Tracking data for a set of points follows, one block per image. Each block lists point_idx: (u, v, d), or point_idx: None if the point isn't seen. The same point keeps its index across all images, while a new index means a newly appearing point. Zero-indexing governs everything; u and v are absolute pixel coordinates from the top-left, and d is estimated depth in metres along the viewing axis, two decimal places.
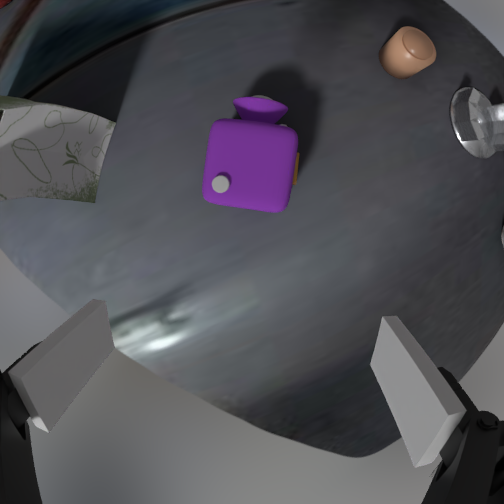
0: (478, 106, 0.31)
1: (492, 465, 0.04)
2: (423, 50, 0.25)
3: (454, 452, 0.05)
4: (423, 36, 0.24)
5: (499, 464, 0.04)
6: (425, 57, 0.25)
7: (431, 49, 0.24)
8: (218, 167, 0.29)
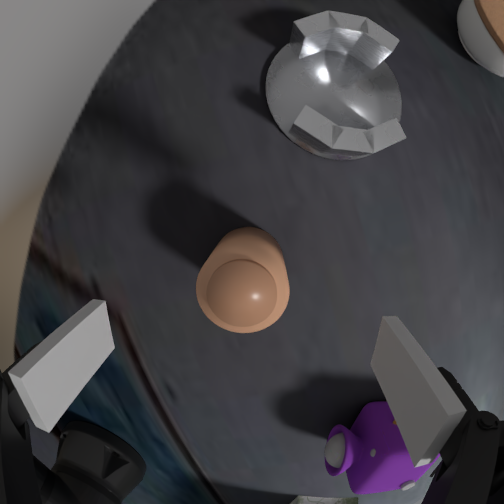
0: (303, 82, 0.21)
1: (492, 465, 0.04)
2: (256, 288, 0.18)
3: (454, 452, 0.05)
4: (217, 279, 0.18)
5: (499, 464, 0.04)
6: (273, 287, 0.18)
7: (247, 266, 0.18)
8: (394, 487, 0.22)
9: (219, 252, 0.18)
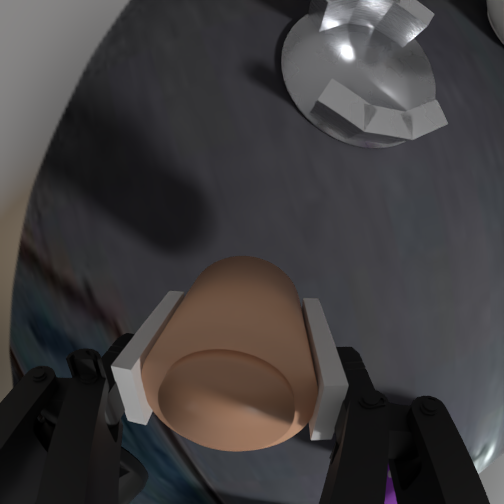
0: (325, 57, 0.17)
1: (385, 444, 0.05)
2: (253, 404, 0.08)
3: (343, 433, 0.07)
4: (175, 386, 0.08)
5: (398, 451, 0.06)
6: (288, 403, 0.08)
7: (234, 370, 0.08)
8: None
9: (176, 334, 0.08)
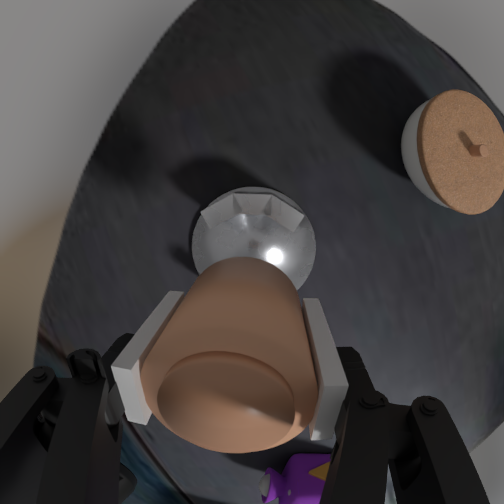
0: (223, 243, 0.28)
1: (385, 444, 0.05)
2: (253, 407, 0.08)
3: (343, 433, 0.07)
4: (174, 388, 0.08)
5: (398, 451, 0.06)
6: (288, 405, 0.08)
7: (234, 372, 0.08)
8: None
9: (175, 336, 0.08)
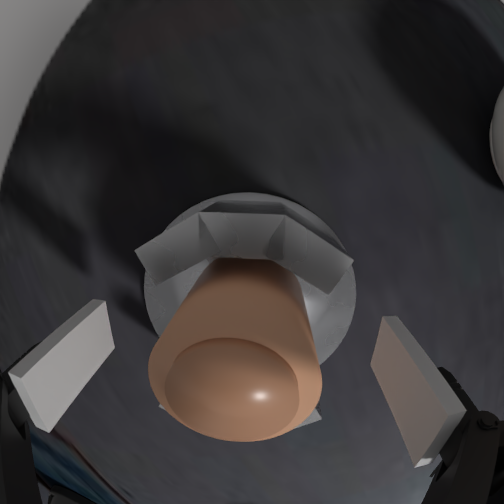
0: None
1: (492, 465, 0.04)
2: (259, 393, 0.08)
3: (454, 452, 0.05)
4: (182, 375, 0.08)
5: (499, 464, 0.04)
6: (292, 391, 0.08)
7: (240, 358, 0.08)
8: None
9: (184, 323, 0.08)
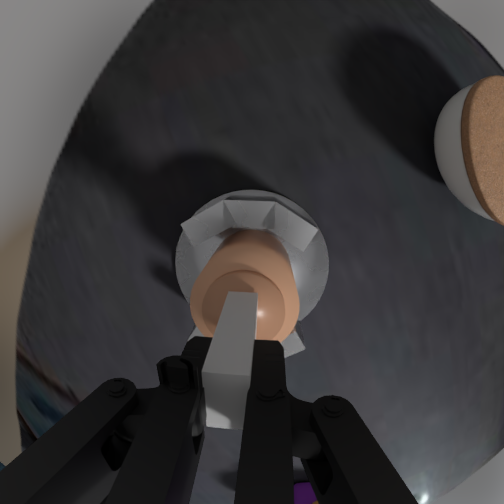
0: None
1: (287, 436, 0.06)
2: (260, 305, 0.15)
3: None
4: (214, 294, 0.15)
5: (303, 450, 0.07)
6: (280, 303, 0.15)
7: (250, 279, 0.15)
8: None
9: (216, 262, 0.15)
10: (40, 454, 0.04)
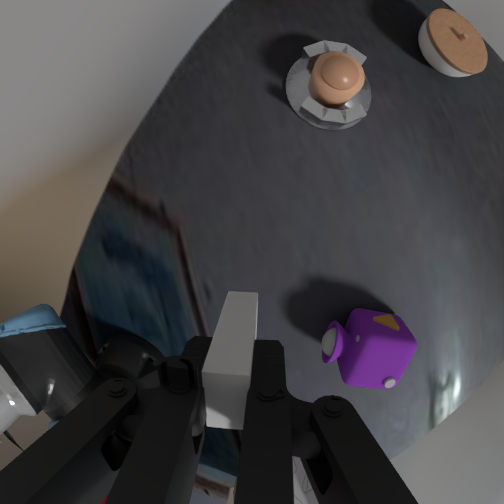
0: (308, 82, 0.34)
1: (287, 436, 0.06)
2: (348, 68, 0.27)
3: None
4: (327, 62, 0.27)
5: (303, 451, 0.07)
6: (357, 69, 0.26)
7: (343, 57, 0.26)
8: (378, 383, 0.36)
9: (327, 52, 0.27)
10: (40, 454, 0.04)
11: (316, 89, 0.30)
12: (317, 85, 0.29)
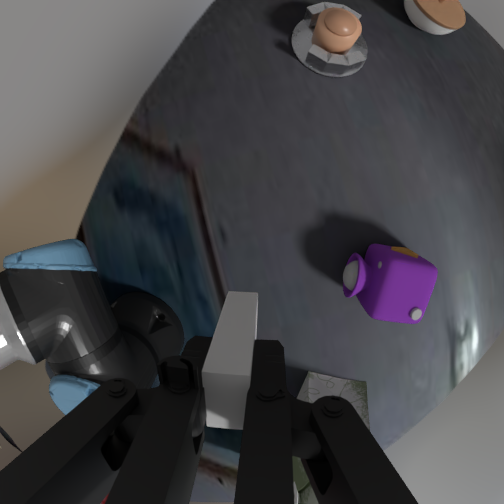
0: None
1: (287, 436, 0.06)
2: (347, 19, 0.27)
3: None
4: (329, 14, 0.27)
5: (303, 450, 0.07)
6: (354, 20, 0.27)
7: (342, 11, 0.27)
8: (405, 315, 0.36)
9: (328, 8, 0.27)
10: (40, 454, 0.04)
11: (320, 38, 0.31)
12: (321, 33, 0.29)
